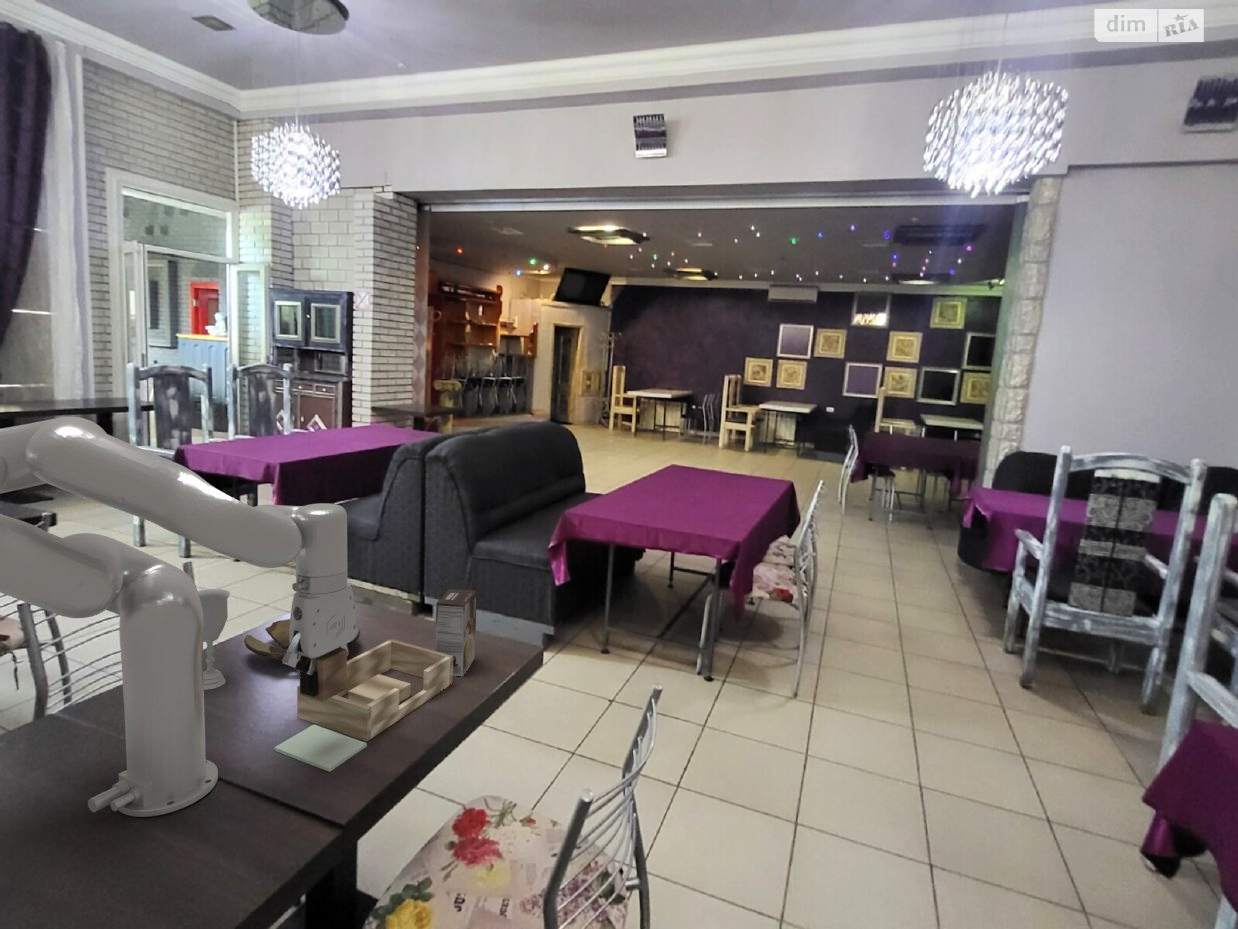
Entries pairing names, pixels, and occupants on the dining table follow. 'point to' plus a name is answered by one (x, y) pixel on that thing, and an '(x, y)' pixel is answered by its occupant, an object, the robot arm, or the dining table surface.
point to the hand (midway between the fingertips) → (323, 685)
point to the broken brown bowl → (280, 636)
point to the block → (330, 674)
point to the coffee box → (457, 628)
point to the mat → (321, 747)
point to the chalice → (213, 630)
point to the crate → (379, 690)
